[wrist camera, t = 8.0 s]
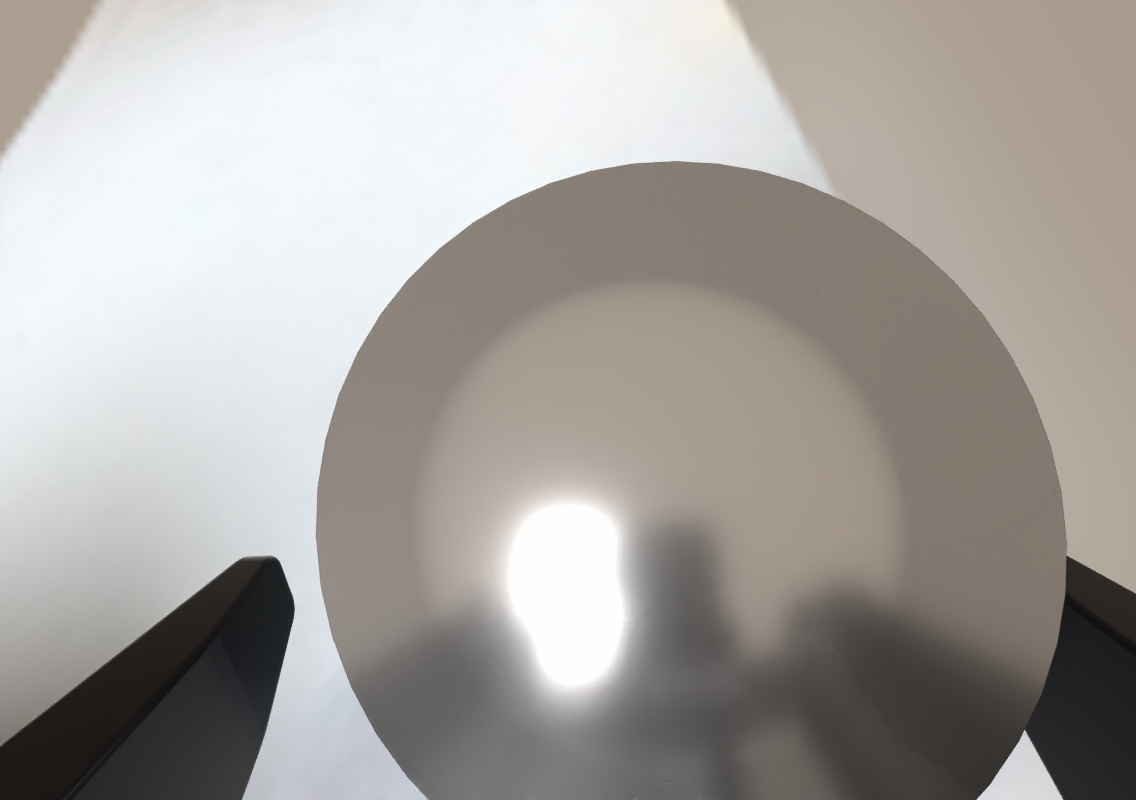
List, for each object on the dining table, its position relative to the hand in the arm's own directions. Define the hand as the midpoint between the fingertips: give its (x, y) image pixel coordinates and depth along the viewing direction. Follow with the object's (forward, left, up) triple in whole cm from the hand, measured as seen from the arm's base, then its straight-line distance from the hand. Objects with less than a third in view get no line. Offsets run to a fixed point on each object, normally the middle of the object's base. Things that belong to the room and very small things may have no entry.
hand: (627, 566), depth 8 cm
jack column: (0, 0, -6) cm, 6 cm away
